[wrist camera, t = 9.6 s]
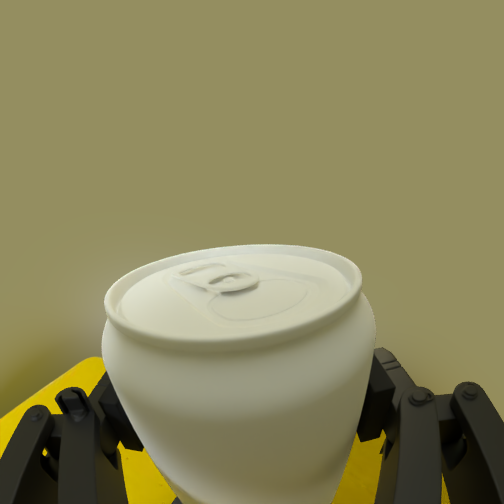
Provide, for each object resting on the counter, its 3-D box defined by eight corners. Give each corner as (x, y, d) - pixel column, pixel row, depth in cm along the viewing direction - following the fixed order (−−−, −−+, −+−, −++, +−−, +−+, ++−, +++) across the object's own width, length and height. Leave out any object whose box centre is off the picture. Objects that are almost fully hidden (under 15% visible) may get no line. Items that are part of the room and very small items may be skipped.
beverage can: (250, 570, 5) (153, 442, 2) (158, 472, 11) (73, 278, 8) (365, 473, 10) (420, 259, 7) (263, 414, 16) (248, 235, 13)
